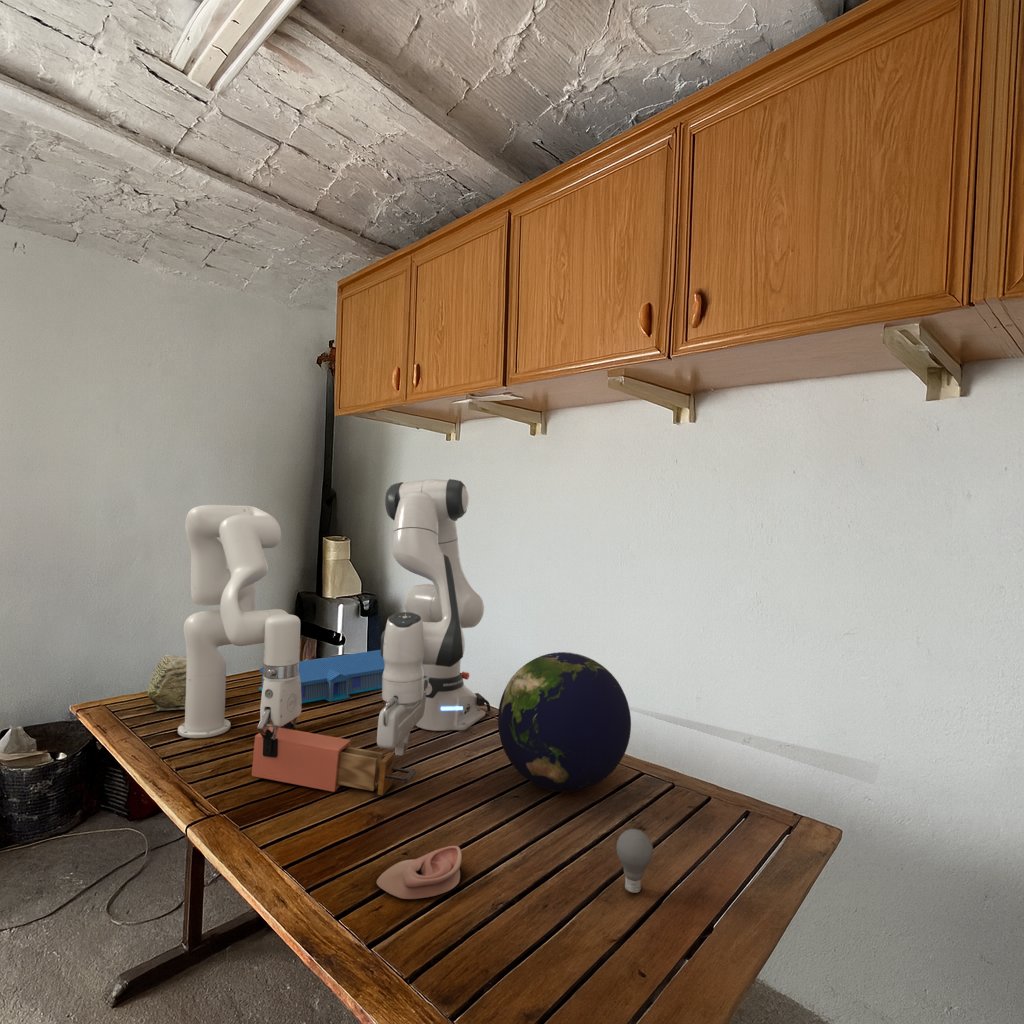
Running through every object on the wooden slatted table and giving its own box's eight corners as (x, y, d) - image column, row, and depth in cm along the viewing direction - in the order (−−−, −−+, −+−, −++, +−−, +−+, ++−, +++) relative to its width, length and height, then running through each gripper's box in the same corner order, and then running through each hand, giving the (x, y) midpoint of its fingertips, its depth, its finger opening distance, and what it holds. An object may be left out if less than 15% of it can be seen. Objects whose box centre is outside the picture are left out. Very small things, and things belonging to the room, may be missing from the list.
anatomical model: (369, 868, 102) (396, 832, 113) (368, 893, 102) (395, 854, 113) (448, 882, 99) (468, 844, 110) (447, 907, 99) (467, 866, 110)
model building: (289, 709, 186) (291, 675, 185) (258, 688, 204) (259, 657, 204) (403, 687, 212) (405, 657, 212) (366, 670, 230) (368, 643, 230)
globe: (472, 799, 135) (478, 659, 135) (523, 750, 163) (528, 634, 162) (610, 832, 124) (617, 680, 124) (639, 773, 152) (645, 649, 151)
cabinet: (347, 779, 142) (351, 739, 142) (334, 792, 136) (338, 750, 136) (267, 764, 146) (271, 725, 146) (251, 776, 140) (254, 735, 140)
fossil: (144, 707, 182) (145, 655, 182) (212, 696, 194) (213, 647, 194) (151, 716, 175) (153, 662, 175) (221, 703, 188) (223, 653, 188)
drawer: (414, 789, 139) (417, 756, 139) (406, 800, 134) (409, 766, 134) (313, 770, 143) (316, 738, 143) (301, 780, 138) (304, 747, 138)
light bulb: (610, 879, 108) (613, 822, 108) (644, 879, 109) (647, 822, 109) (619, 902, 102) (622, 840, 102) (655, 901, 103) (658, 840, 103)
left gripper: (275, 682, 133) (272, 767, 133) (315, 662, 150) (313, 738, 150) (242, 679, 134) (240, 763, 134) (286, 660, 151) (284, 735, 151)
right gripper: (399, 707, 126) (397, 775, 126) (431, 677, 146) (429, 736, 146) (369, 704, 127) (368, 771, 127) (405, 675, 147) (403, 733, 148)
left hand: (279, 749), depth 142 cm, fingers closed on cabinet, 6 cm apart
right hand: (401, 752), depth 137 cm, fingers closed
